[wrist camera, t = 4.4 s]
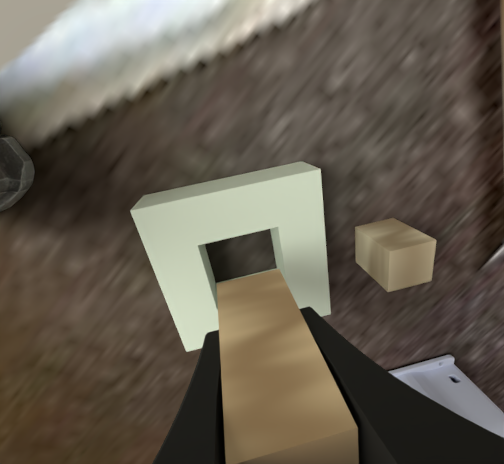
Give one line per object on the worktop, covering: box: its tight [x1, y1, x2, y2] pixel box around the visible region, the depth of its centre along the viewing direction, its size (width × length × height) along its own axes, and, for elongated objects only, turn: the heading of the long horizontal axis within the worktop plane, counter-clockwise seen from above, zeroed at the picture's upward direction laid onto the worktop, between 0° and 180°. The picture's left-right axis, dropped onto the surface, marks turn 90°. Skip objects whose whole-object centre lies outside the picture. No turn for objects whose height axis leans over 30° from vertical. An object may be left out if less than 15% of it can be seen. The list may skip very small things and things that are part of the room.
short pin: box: [355, 218, 436, 292], centre depth 18 cm, size 3×3×4 cm
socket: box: [130, 161, 331, 352], centre depth 17 cm, size 10×10×3 cm
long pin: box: [217, 269, 359, 464], centre depth 9 cm, size 3×3×7 cm
